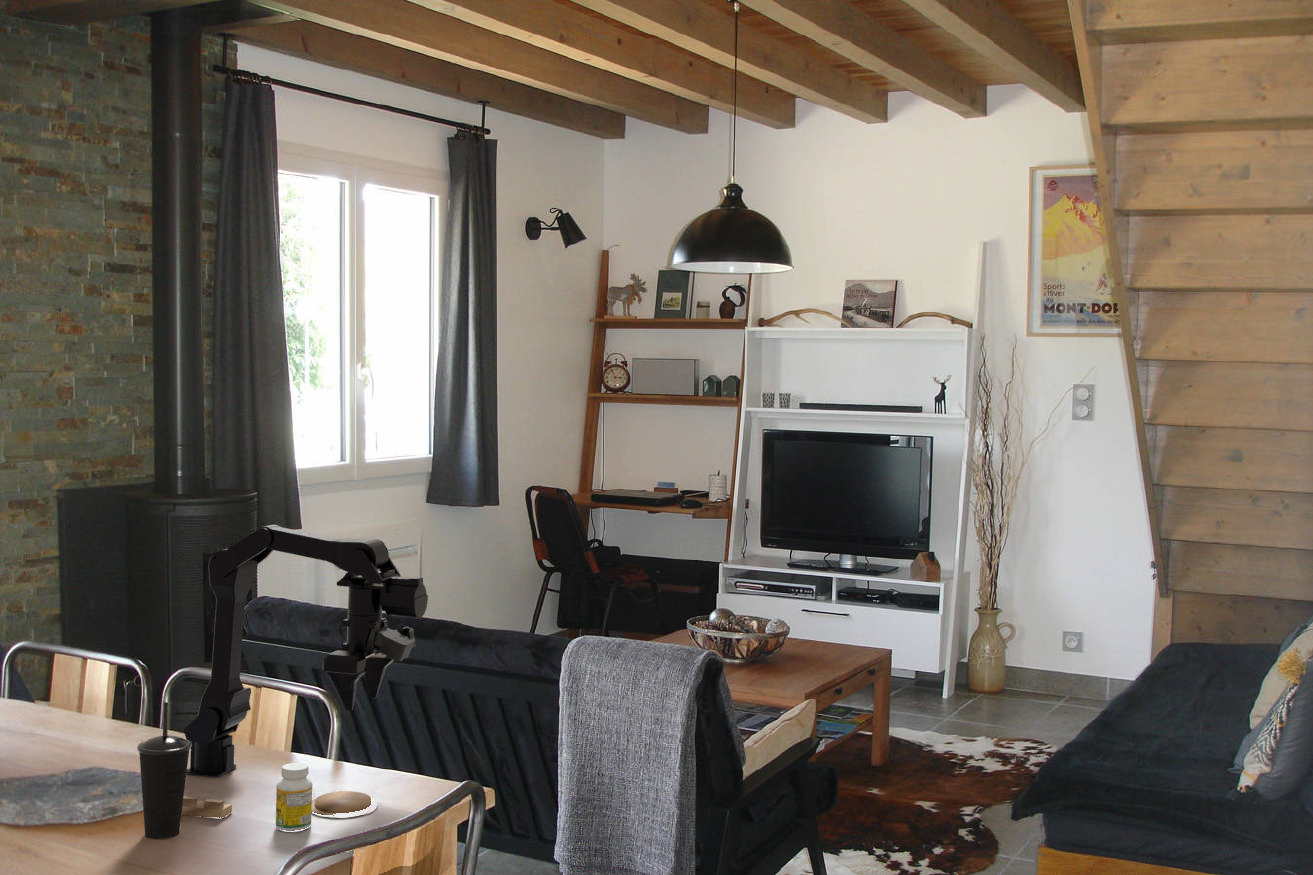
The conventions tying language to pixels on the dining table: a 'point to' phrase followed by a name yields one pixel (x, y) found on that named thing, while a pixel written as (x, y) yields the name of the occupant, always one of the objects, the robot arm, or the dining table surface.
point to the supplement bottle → (294, 798)
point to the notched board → (205, 807)
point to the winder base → (340, 802)
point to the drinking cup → (163, 781)
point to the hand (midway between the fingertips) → (361, 703)
